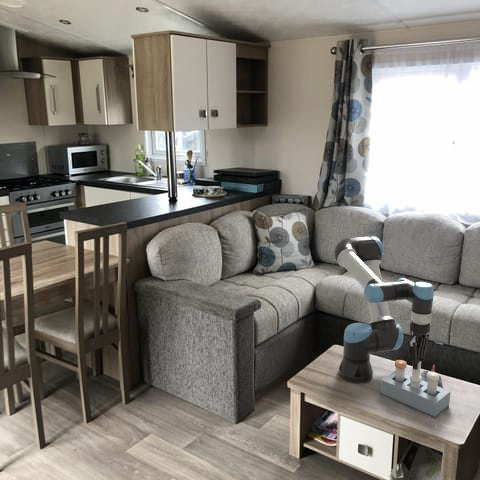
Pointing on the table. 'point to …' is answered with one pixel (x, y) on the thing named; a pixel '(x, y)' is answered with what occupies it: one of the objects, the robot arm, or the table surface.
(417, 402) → the blue peg holder block
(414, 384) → the cream plunger
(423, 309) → the robot arm
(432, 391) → the cream plunger
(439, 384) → the brake caliper
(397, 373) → the peach ball knob
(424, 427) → the table surface
